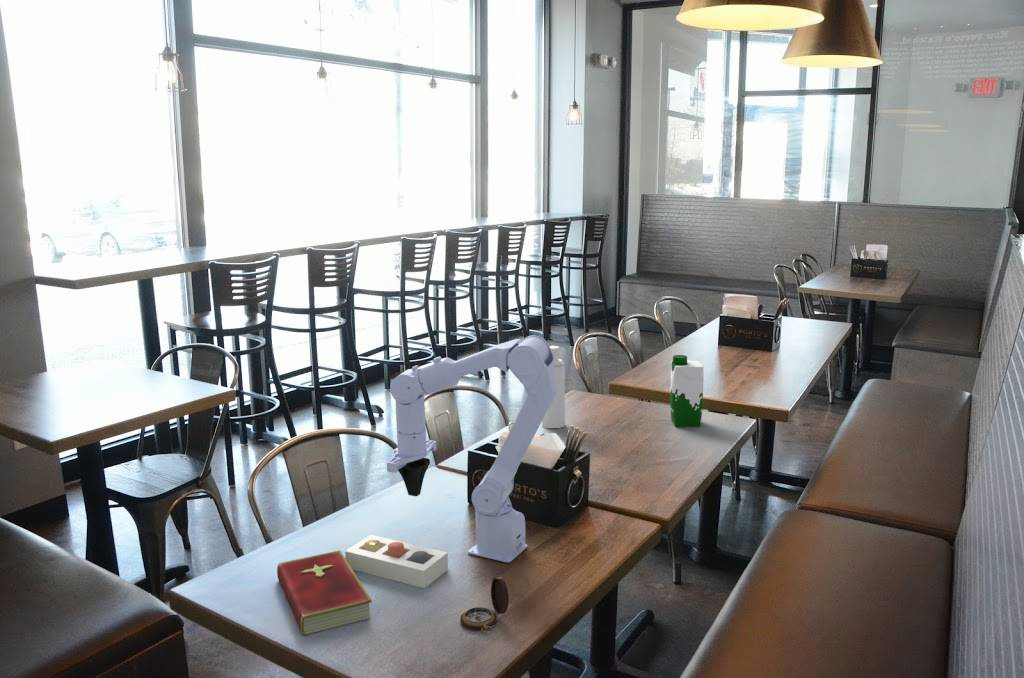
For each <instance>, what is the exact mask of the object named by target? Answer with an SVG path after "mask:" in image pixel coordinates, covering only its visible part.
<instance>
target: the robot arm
mask: <svg viewBox="0 0 1024 678" xmlns="http://www.w3.org/2000/svg"><path fill="white" fill-rule="evenodd" d="M519 342H520V343H519ZM550 346H551V345H549V342H548V341H547V340H546V339H545V338H544V337H542V336H539V335H535V334H534V335H529V336H526V337H525V338H523V339H522V340H521V338H516V339H512V340H509V341H505V342H502V343H499V344H496V345H494V346H491V347H489V348H486V349H484V350H481V351H478V352H475V353H473V354H471V355H468V356H466V357H463V358H460V359H458V360H454V359H453V358H450V357H448V356H447V357H443V358H442V357H441V356H440V355H439V356H436V357H435V358H433V359H432V361H433V362H432V361H431V362H430V363H429V362H428V363H427V364H423V365H418V364H417V365H414V366H412V368H408V369H405V370H404V371H403V372H402V373H400V374H399V375H396V377H395V378H394V379H393V380H392V381H391V383H390V387H389V390H390V394H391V396H392V398H393V399H394V400H395V418H396V420H395V421H396V422H395V423H396V440H397V441H396V443H397V445H396V446H397V447H396V448H394V449H393V453H394V455H393V456H392V457H391V458H390V460H389V461H387V462H386V472H387V473H393V474H396V473H398V472H399V474H400V476H401V478H402V480H403V483H404V485H405V489H406V492H407V495H408V496H411V497H418V496H420V495H421V492H422V487H423V482H424V479H425V475H426V473H427V470H428V468H429V466H430V464H431V460H430V458H427V456H428V455H429V454H430V452H436V451H437V441H436V440H431V439H427V430H426V429H427V427H426V407H425V396H428V395H431V394H432V395H433V394H434V393H437V392H441V391H443V390H446V389H449V388H452V387H456V386H457V385H458V384H459V381H460V378H461V377H464V376H465V377H466V376H469V375H472V374H475V373H478V372H481V371H485V370H488V369H491V368H497V369H499V370H501V371H503V372H505V373H507V372H508V371H509V370H510V372H511V373H512V374H513V375H514V376H515V378H516V379H517V380H518V381H519V382H520V383H521V384H522V385H523V387H524V390H525V392H526V394H527V396H526V399H525V401H524V403H523V404H522V407H521V408H520V411H519V412H518V414H517V416H516V418H515V421H513V422H514V423H513V425H512V426H511V428H510V430H509V432H508V433H507V436H506V438H505V441H504V442H503V444H502V446H501V448H500V450H499V452H498V455H497V456H496V458H495V460H494V462H493V463H492V466H491V467H490V469H489V470H487V472H486V473H485V474H484V476H483V478H482V479H481V481H480V483H479V484H478V485H477V486H476V487H475V488H474V489H473V491H472V493H471V502H472V505H473V507H474V510H475V513H474V515H475V516H474V517H475V545H473V546H472V547H471V548H469V549H468V550H467V554H469V555H473V556H474V555H475V556H477V557H480V558H481V557H482V558H485V559H490V560H494V561H499V562H504V563H507V564H509V563H512V561H514V559H516V558H517V556H519V555H520V554H521V553H522V552H523V551H524V550H526V549H527V548H528V544H526V543H527V541H526V520H525V519H526V518H525V515H524V514H523V512H520V511H517V510H515V508H513V505H512V501H511V500H510V494H511V493H512V492H513V491H514V487H515V486H514V484H515V483H514V482H515V481H514V479H515V475H516V474H517V472H518V469H519V466H520V465H521V463H522V461H523V459H524V457H525V455H526V453H527V451H528V449H529V447H530V445H531V443H532V441H533V439H534V437H535V435H536V433H537V431H538V430H539V429H540V428H539V427H541V426H540V425H542V420H543V418H544V416H545V414H546V412H547V410H548V408H549V406H550V404H551V403H552V401H553V399H554V397H555V394H556V381H555V371H554V354H553V352H552V350H551V348H550Z"/></svg>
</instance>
